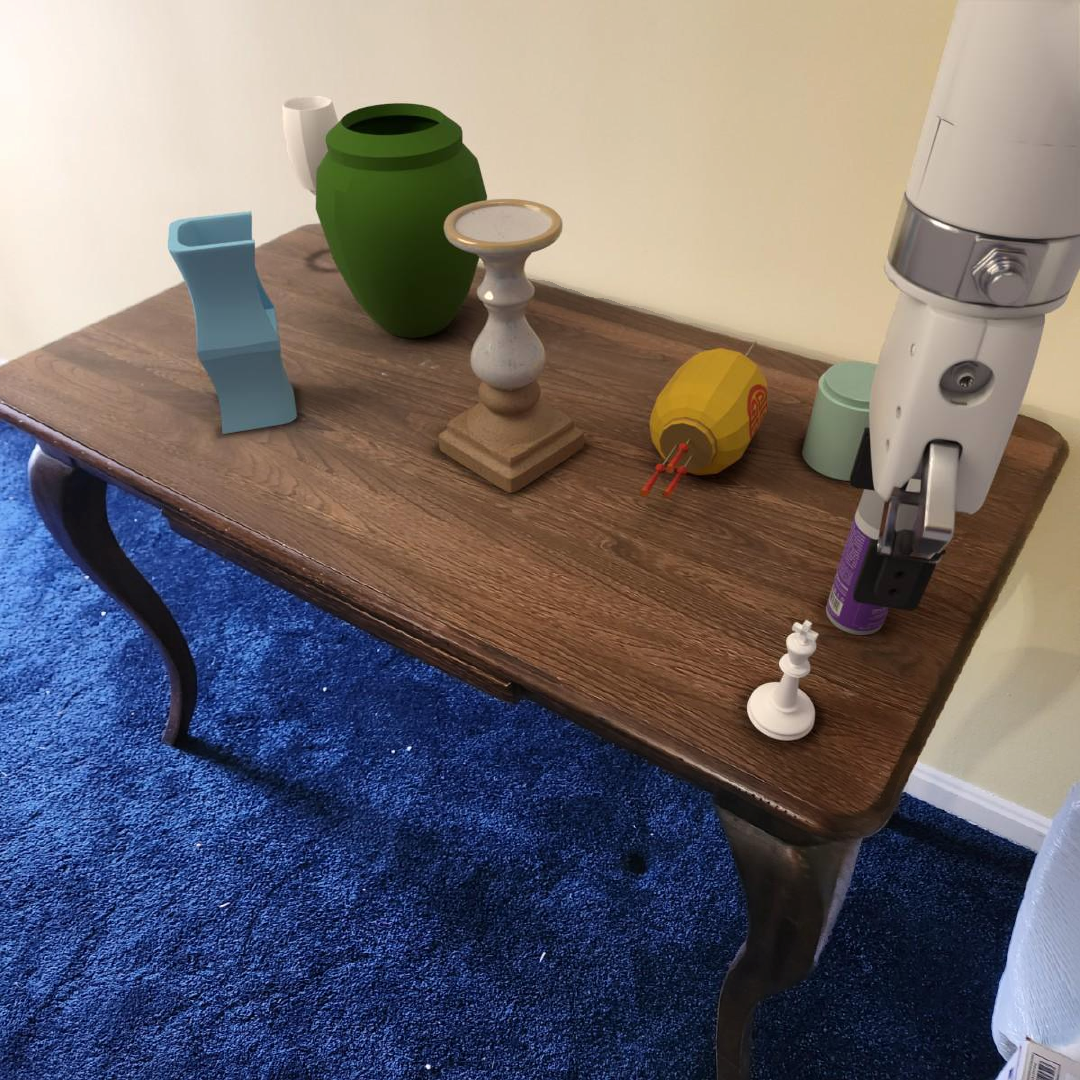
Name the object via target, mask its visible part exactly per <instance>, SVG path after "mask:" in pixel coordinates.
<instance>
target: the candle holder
mask: <svg viewBox="0 0 1080 1080" xmlns="http://www.w3.org/2000/svg"><path fill="white" fill-rule="evenodd" d="M562 232H563V218H562V217H561V216H560V214H559V213H558V212H557V211H556V210H554V209H553V208H552V207H550V206H547V205H546V204H542V203H540V202H536V201H532V200H525V199H519V198H494V199H487V200H485V201H479V202H475V203H471V204H468V205H465V206H462V207H460V208H458V209H456V210H455V211H453V212H452V213H451V214H449V215H448V217H447V218H446V219H445V222H444V233H445V236H446V238H447V240H448V241H449V242H450V243H451V244H452V245H454V246H455V247H457V248H459V249H461V250H463V251H466V252H469V253H473V254H477V255H478V257H479V260H481V262H482V263H483V266H484V270H485V272H484V276H483V279H482V280H481V282H480V283H479V285H478V286H477V288H476V295H477V298H478V299H479V300H480V301H481V303H482V304H483V306H484V307H485V308H486V310H487V313H488V316H487V320H486V322H485V324H484V326H483V327H482V330H481V331H480V332H479V334H478V335H477V337H476V339H475V341H474V343H473V345H472V347H471V351H470V356H469V361H470V367H471V370H472V372H473V373H474V375H475V377H476V378H477V379H478V380H479V381H481V382H480V384H479V387H478V397H479V400H480V401H479V402H478V403H477V404H475V405H473V406H471V407H470V408H468V409H466V410H464V411H463V412H461V413H459V414H458V415H456V416H455V417H454V418H451V420H449V422H448V423H447V424H446V425H447V426H446V427H447V428H446V429H445V430H443V431H442V432H440V433H438V447H439V450H440V451H441V452H442V453H444V454H445V455H446V456H448V457H449V458H451V460H452V459H453V460H454V461H456V462H457V463H459V464H461V465H462V466H464V467H465V468H467V469H468V470H470V471H472V472H473V473H475V474H476V475H478V476H479V477H482V478H483V479H485V480H486V481H488V482H489V483H491V484H493V485H495V486H496V487H497V488H500V489H502V490H503V491H505V492H507V493H510V494H513V493H516V492H518V491H519V490H521V489H523V488H524V487H526V486H527V485H529V484H531V483H532V482H534V481H536V480H537V479H538V478H540V477H541V476H543V475H544V474H546V473H548V472H549V471H551V470H552V469H554V468H555V467H557V466H558V465H560V464H561V463H563V462H564V461H566V460H567V459H569V458H571V457H572V456H574V455H575V454H576V453H578V452H580V450H582V449H583V448H584V446H585V432H584V431H583V430H581V429H580V428H578V427H577V426H575V421H574V420H573V419H572V418H571V417H570V416H568V415H566V414H565V413H563V412H562V411H560V410H558V409H557V408H555V407H553V406H551V405H549V404H547V403H546V402H544V401H542V400H540V398H541V386H540V383H539V381H538V379H539V378H540V377H541V375H542V374H543V372H544V371H545V369H546V365H547V354H546V348H545V346H544V344H543V342H542V340H541V338H540V337H539V335H538V334H537V332H536V331H535V330H534V329H533V327H532V326H531V325H530V323H529V322H528V319H527V318H526V314H525V313H526V308H527V306H528V305H529V303H530V300H532V299H533V297H534V296H535V287H534V285H533V283H532V282H531V281H530V280H529V278H528V277H527V274H526V271H525V266H526V262H527V260H528V258H530V256H531V255H532V254H533V253H535V252H538V251H541V250H544V249H546V248H548V247H550V246H551V245H553V244H554V243H555V242H556V241H557V240H558V239H559V238H560V236H561V235H562Z"/></svg>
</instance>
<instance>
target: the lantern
mask: <svg viewBox="0 0 1080 1080" xmlns="http://www.w3.org/2000/svg"><path fill="white" fill-rule="evenodd" d="M757 344H758V343H757V340H755V341H754V342H753V343H752V345H751V346H750V348H749V349H748V351H747V352H746V354H745V355H744V354H743V353H742V352H740V351H735V350H731V349H727V348H722V347H718V348H714V349H709V350H704V351H700V352H699V353H696V354H694V355H693V356H692V357H690V358H689V359H687V361H685V362H684V363H683V364H682V365H681V366H679V368H677V370H676V372H675V373H674V374H673V376H672V377H671V378H670V379H669V381H668V382H667V384H665V386H664V388H663V389H662V390H661V391H660V392H659V394H658V395H657V396H656V400H655V403H654V406H653V408H652V411H651V413H650V418H649V423H648V425H649V431H650V438H651V442H652V444H653V446H654V447H655V448H656V450H657V451H658V453H659V455H660V456H661V458H662V459H664V462H663V463H657V464H656V466H655V467H654V469H655V472H654V473H653V474H652V475H651V477H650V478H649V479H648V481H647V482H646V483H645V484H644V486H643V487H642V489H641V490H640V491H639V495H640V496H641V497H643V498H648V496H649V494H650V492H651V490H652V489H653V487H654V485H655V483H656V482H657V480H658V478H659V476H660V475H661V474H665V473H668V474H673V473H674V471H675V469H676V472H677V473H676V474H675V476H674V478H673V479H672V481H670V483H669V484H668V485H667V486H666V488H665V490H663V493H662V496H663V497H664V498H667V499H670V498H671V496H672V494H673V493H674V491H675V490H676V487H677V485H678V483H679V482H680V480H681V478H682V477H683V476H686V475H687V474H688V473H689V474H692V475H695V476H706V475H715V474H719V473H720V472H722V471H723V470H725V469H726V468H728V467H730V466H731V465H733V464H735V463H736V462H737V461H739V460H740V459H741V458H742V457H743V455H744V453H745V452H746V450H747V448H748V446H749V444H750V443H751V441H752V439H753V438H754V436H755V434H756V433H757V430H758V429H759V427H760V426H761V423H762V421H763V419H764V418H765V415H766V413H767V412H768V409H769V393H768V392H769V391H768V381H767V379H766V377H765V376H764V374H763V373H762V371H761V369H760V367H759V365H758V364H757V363H755V362H754V361H753V360H752V359H750V358H749V356H750V354H751V353H752V351H753V350H754V348H755V347H756V345H757ZM666 462H668V464H667V465H665V464H666Z"/></svg>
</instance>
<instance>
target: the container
mask: <svg viewBox="0 0 1080 1080" xmlns="http://www.w3.org/2000/svg"><path fill="white" fill-rule="evenodd" d="M920 486H921V480H918V479H911V478H910V480H909V483H908V485H907V488H906V490H905V491H910V492H917V493H920ZM884 503H885V501H884V500H883V499H882V498H881V497H880V496H879V495H878V494H877V492H876V491H873V490H866V489H863V491H862V494H861V497H860V500H859V503H858V506H857V509H856V511H855V514H854V518H853V520H852V523H851V527H850V529H849V532H848V536H847V539H846V542H845V546H844V549H843V552H842V555H841V557H840V558H841V559H840V561H839V565H838V568H837V571H836V574H835V577H834V580H833V583H832V587H831V589H830V593H829V596H828V599H827V602H826V606H825V612H826V616H827V618H828V620H829V622H831V623H832V624H833V626H835V627H836V628H837V629H839V630H840V631H843V632H845V633H848V634H851V635H854V636H855V635H857V636H868V635H872V634H875V633H876V632H878V631H879V630H880V629H881V628H882V627H883V625H884V622H885V621H886V618H887V615H888V613H889V610H890V608H888V607H882V606H876V605H870V604H864V603H858V602H856V601H855V600H854V598H853V589H854V586H855V583H856V580H857V577H858V575H859V572H860V569H861V566H862V563H863V560H864V557H865V554H866V551H867V548H868V546H869V543H870V540H871V539H878V537H879V532H880V526H881V520H882V514H883V509H884ZM918 510H919V507H918V506H911V505H904V504H901V506H900V511H899V517H898V523H897V528H896V531H900V530H903V529H907V530H913V524H914V523H915V521H916V519H917V516H918Z"/></svg>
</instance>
